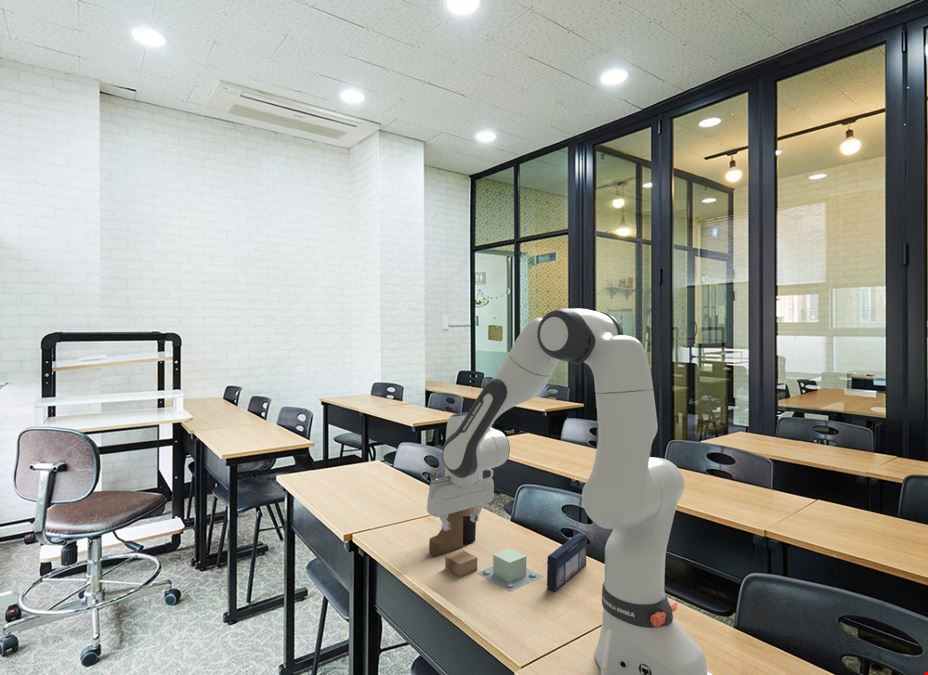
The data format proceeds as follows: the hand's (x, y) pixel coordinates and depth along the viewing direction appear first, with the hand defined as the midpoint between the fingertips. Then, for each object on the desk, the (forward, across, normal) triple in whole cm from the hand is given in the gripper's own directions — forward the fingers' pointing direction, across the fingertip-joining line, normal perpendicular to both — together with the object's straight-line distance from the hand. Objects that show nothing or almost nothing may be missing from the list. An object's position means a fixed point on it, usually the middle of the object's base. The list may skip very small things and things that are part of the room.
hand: (460, 525), depth 132 cm
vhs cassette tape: (+13, +19, -20) cm, 31 cm away
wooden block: (+14, +5, +12) cm, 19 cm away
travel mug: (+14, +15, +16) cm, 26 cm away
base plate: (+13, +8, -10) cm, 18 cm away
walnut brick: (+13, 0, 0) cm, 13 cm away
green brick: (+11, +8, -10) cm, 17 cm away
